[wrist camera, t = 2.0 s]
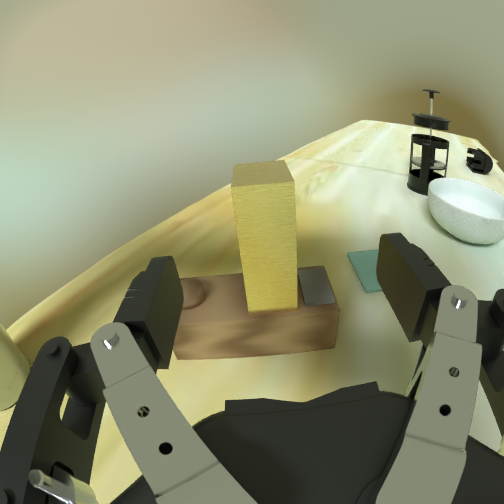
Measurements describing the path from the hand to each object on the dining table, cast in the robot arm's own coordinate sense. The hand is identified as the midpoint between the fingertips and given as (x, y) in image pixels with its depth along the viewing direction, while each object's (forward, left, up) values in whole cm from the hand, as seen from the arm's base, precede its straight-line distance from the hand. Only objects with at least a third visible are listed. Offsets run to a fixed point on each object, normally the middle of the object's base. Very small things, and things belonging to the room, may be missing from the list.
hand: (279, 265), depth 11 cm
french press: (+38, +46, -16) cm, 62 cm away
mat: (+15, +19, -16) cm, 29 cm away
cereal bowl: (+35, +26, -16) cm, 46 cm away
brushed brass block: (0, +11, -11) cm, 16 cm away
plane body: (-2, +11, -16) cm, 20 cm away
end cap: (+72, +63, -16) cm, 97 cm away
